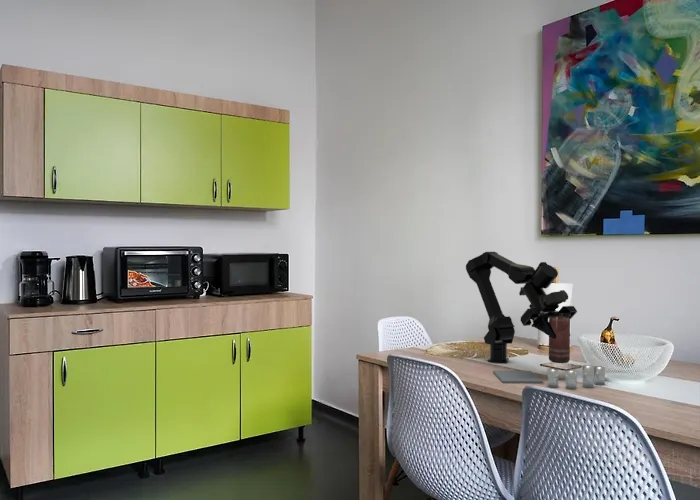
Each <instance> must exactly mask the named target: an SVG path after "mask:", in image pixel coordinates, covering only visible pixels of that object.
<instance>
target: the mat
mask: <svg viewBox="0 0 700 500" xmlns="http://www.w3.org/2000/svg"><path fill="white" fill-rule="evenodd" d="M492 373H493V375H495V377H497V379H498V380H499V381H500V382H501V383H502V384H544V380H543V379H541V378H540V377H539V376H537V375H536V374H535V373H534V372H533V371H532V370H492Z"/></svg>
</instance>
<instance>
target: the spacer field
mask: <svg viewBox="0 0 700 500" xmlns="http://www.w3.org/2000/svg"><path fill="white" fill-rule="evenodd" d="M581 369H582V374H581V375H582V387H583V388H587V389H592V388H594V387H595V386H594V385H596V386H604V385H606V367H605V366H604V367H602V366H593V365H591V364H583V365H582V368H581ZM577 372H578V371H577V370H576V369H569V368H568V369H565V389H567V390H576V388H577V389H578V387H577V386H578V385H577V382H578V380H577ZM547 387H548V388H553V389H555V388H559V369H558V368H555V367H548V368H547Z"/></svg>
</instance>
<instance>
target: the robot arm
mask: <svg viewBox="0 0 700 500" xmlns="http://www.w3.org/2000/svg"><path fill="white" fill-rule="evenodd" d="M493 268H496V269H498V270H500V271H501V272H503V273H505V274H506V275H507V277H508V279H509V280H510V281H512V282H513V283H514V284H516V285H523V286H522V287H521V286H520V290H519V292H518V294H519V295H518V296H525V297H526V298H527V300H528V301H529V303H530V304H529V306H528V307H529V308H527V309H526V310H525V311H524V312H523V314H522V315H521V316H520V322H521V324H522V326H524V327H526V326H531V327H532V328H535V329H537V330H539V331H540V332H542V333H543V334H545V335H547V336H548V337H549V336H550V337H551V338H553V339H555V338H556V335H555V333H554V331H553V329H552V327H551V325H550V323H549V318H550V316H552V315H563V316H568V317H569V319H570V320H572V318H573V317H574V316H575V315H576V314H577V313H578V310H577V309H576V307H575V305H563V306H562V307H561V308H560V309H559V307H560V304H563V303H566V302H567V300H568V299H569V294H568V293H567V291H566V290H562V289H561V290H559V291H553V292H550V293H548V294H547V293H546V292H545V290H544V289H548V288H549V287H550V286H551V285H552V283H554V281H555V279H556V278H557V277H558V275H559V273H558V270H557V269H556V268H555V267H553V266H552V265H550V264H548V263H547V262H546V261H541V262H540V263H538V266H537V267H536V268H534V267H533V266H530V265H526V264H519V263H517V262H514V261H512V260H510V259H509V258H506V257H504V256H502V255H501V254H499V253H498V252H496V251H485V252H483V253H482V254H479V255H478V256H475V257H473V258H472V259H468V261H467V263H466V264H465V271H466V272H467V275H468V276H469V279H471V280H472V282H474V283H475V284H476V286H477V288H478V291H479V295H480V296H481V299H482V302H483V306H484V308H485V310H486V313H487V316H488V318H489V321H488V324H487V328H488V332H487V333H486V334H485V335H484V337H483V340H484V344H486V345H490V346H489V347H490V348H489V349H490V350H489V353H490V354H489V358H488V359H487V362H491V363H492V362H493V363H502V364H503V363H508V362H509V361H510V358H509V357H508V351H507V350H508V348H507V346H508V344H513V340H514V337H515V333H516V330H515V325H514V323H513V320H512V318H511V316H505V314H504V313H503V311H502V308H501V306H500V304H499V301H498V297H497V295H496V292H495V290H494V288H493V284H492V282H491V279H490V278H491V274H492V270H491V269H493ZM556 309H559V310H556Z"/></svg>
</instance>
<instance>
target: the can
mask: <svg viewBox="0 0 700 500" xmlns="http://www.w3.org/2000/svg"><path fill="white" fill-rule="evenodd" d="M548 321H549V323H550V325H551V327H552V329H553V331H554V333H555V335H556V338H555V339H553V338H551V337H550V336H548V359H549V362H552V363H554V364H568V363H569V362H570V357H571V346H570V345H571V319H569V317H568V316H563V315H552V316H550V318H548Z"/></svg>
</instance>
